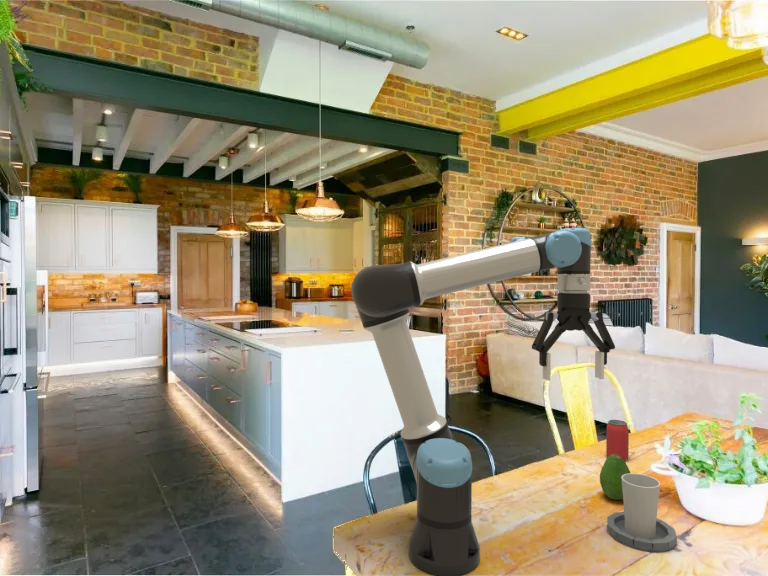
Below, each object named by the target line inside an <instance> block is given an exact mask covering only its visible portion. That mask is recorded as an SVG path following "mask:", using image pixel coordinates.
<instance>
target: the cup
mask: <svg viewBox="0 0 768 576" xmlns="http://www.w3.org/2000/svg"><path fill="white" fill-rule="evenodd" d="M621 479H622V490H623V499H622V500H623V512H624V517H625V530H626V532H627V533H629V534H630V535H632V536H635V537H639V538H644V539H652V538H654V537H655V536H656V518H658V517H657V516H658V507H659V498H660V491H661V482H660V481H659V479H657V478H655V477H652V476H650V475H646V474H643V473H635V472H634V473H633V472H632V473H631V472H630V473H628V474H624V475H622V477H621Z"/></svg>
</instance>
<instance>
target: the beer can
mask: <svg viewBox="0 0 768 576" xmlns="http://www.w3.org/2000/svg"><path fill="white" fill-rule="evenodd" d="M629 433H630V431H629V427H628V424H627V422H626V421H624V420H619V419H610V420H608V422H607V424H606V437H605V439H606V441H605V442H606V445H605V447H606V448H605V449H606V451H605V452H606V453H605V456H606V458H607V457H609V456H610V455H613V454H617V455H619V456H620V457H621V458H623V459H624V461H625V462H627V461H628V460H629V453H630V452H629V450H630V449H629V447H630V446H629V443H630V442H629V440H630V439H629Z"/></svg>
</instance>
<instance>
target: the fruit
mask: <svg viewBox="0 0 768 576" xmlns="http://www.w3.org/2000/svg"><path fill="white" fill-rule="evenodd" d="M628 473H631V471H630V468H629V466H628V465H627V463H626V461H624V459H623V458H621V457H620V456H619V455H617V454H613V455H610V456H609V457H607V456H606V459H605V461H604V463H603V465H602V467H601V469H600V473H599V483H600V487H601V489H602V491H603V493H604V495H606V496H607V497H608V498H609V499H611V500H614V501H619V500H623V490H622V479H621V477H622V475H624V474H628Z"/></svg>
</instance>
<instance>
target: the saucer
mask: <svg viewBox="0 0 768 576" xmlns="http://www.w3.org/2000/svg"><path fill="white" fill-rule="evenodd" d="M606 524H607V525H606V529H607V533H608V534H609V535H610V536H611V537H612V538H613V539H614V540H615V541H617V543H620V544H622V545H624V546H627V547H630V548H631V549H635V550H639V551H643V552H649V553H664V552H668V551H671V550H673V549H674V548H675V547H676V544H677V542H678V541H677V539H678V538H677V533H676V530H675V528H674V527H673V526H671V525H670V524H668V523H667V522H666V521H665V520H663V519H660V518H658V517H657V518H656V536H655V537H654V538H652V539H644V538H639V537H635V536H632V535H630V534H629V533H627V532H626V530H625V517H624V511H615V512H613V513H612V514H610V515H608V516H607V517H606Z"/></svg>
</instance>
